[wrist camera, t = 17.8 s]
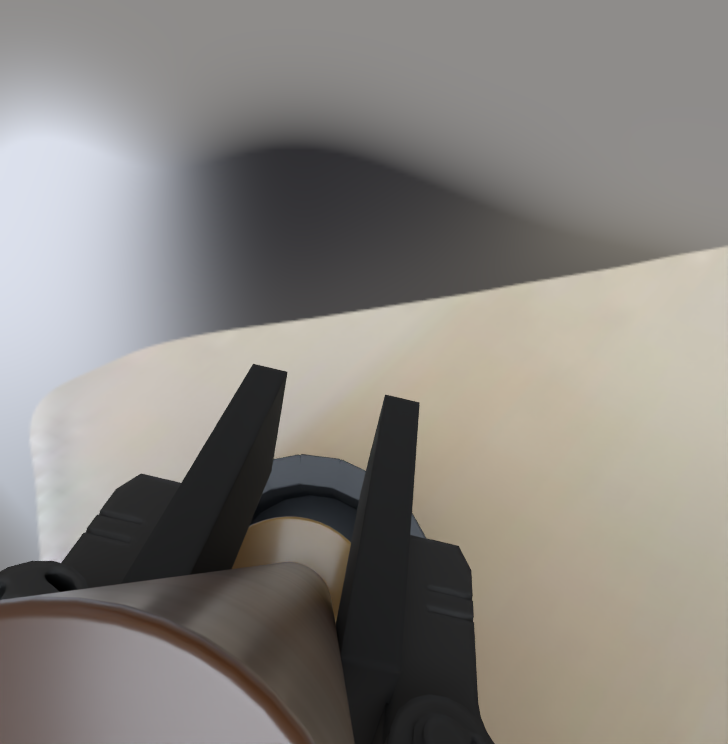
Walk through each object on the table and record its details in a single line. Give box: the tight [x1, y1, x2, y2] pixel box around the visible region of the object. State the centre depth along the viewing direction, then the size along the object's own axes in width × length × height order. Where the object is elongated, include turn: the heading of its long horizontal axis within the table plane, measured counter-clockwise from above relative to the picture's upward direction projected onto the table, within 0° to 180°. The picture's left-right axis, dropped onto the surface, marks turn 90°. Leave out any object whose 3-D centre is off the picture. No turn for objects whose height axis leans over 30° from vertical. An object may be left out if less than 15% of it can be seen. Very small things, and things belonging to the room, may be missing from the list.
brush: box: [0, 516, 355, 744], centre depth 12 cm, size 4×4×22 cm
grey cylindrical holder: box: [249, 454, 427, 542], centre depth 30 cm, size 10×10×13 cm
